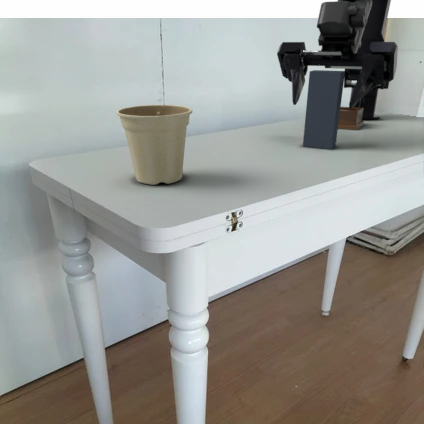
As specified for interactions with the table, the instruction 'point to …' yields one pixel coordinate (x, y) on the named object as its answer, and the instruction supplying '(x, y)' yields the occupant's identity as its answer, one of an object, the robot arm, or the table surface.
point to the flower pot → (156, 141)
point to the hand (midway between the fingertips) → (321, 104)
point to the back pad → (323, 108)
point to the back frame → (350, 118)
